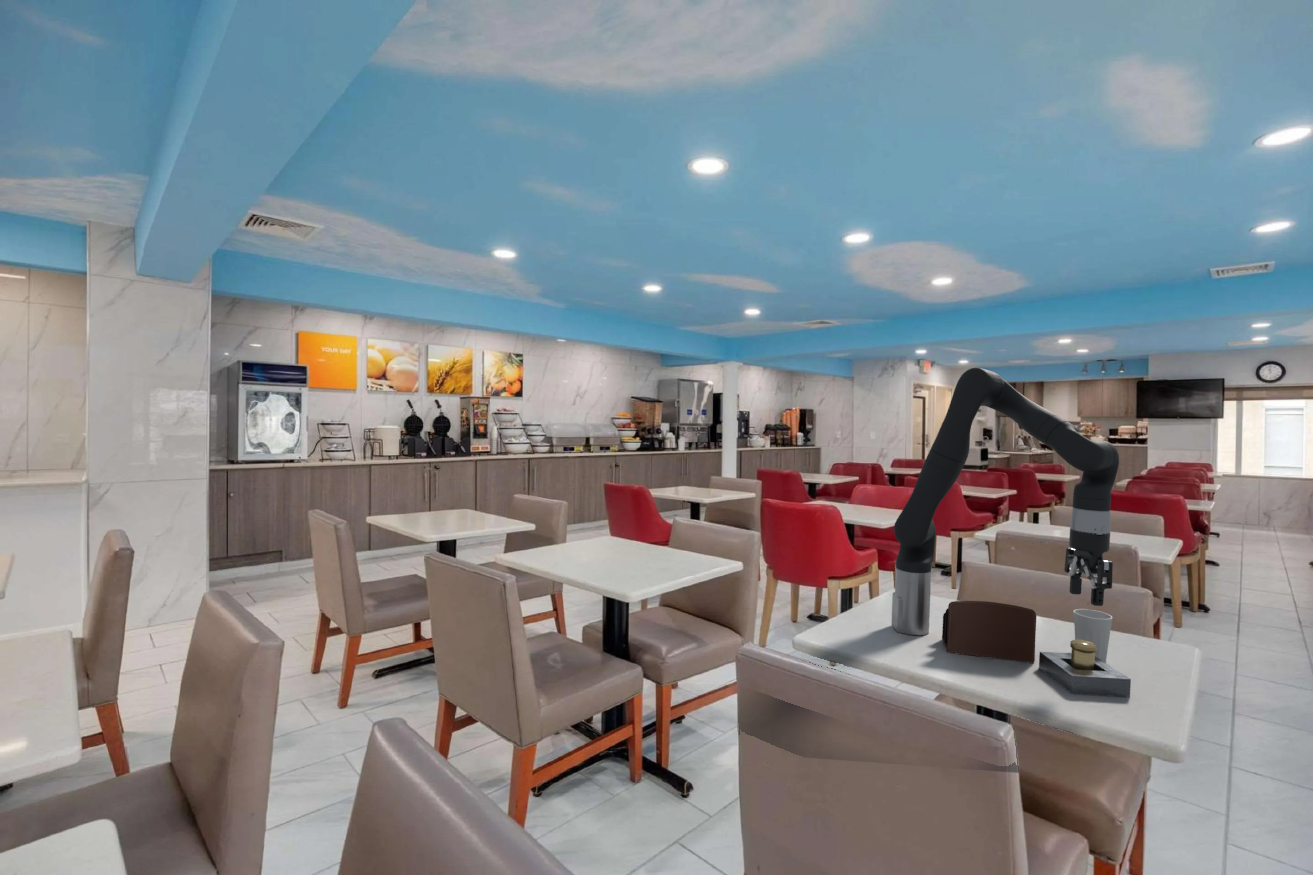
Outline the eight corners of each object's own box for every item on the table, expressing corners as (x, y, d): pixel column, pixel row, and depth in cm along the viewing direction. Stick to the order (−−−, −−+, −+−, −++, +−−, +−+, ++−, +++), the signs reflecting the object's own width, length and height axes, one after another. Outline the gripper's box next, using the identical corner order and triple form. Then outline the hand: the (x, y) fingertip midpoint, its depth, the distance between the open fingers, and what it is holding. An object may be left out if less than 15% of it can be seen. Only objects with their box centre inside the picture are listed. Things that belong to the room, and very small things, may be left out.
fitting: (1076, 685, 142) (1078, 646, 142) (1064, 676, 147) (1065, 638, 147) (1099, 686, 141) (1101, 647, 141) (1086, 677, 146) (1088, 639, 146)
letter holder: (1035, 664, 154) (1037, 607, 154) (946, 653, 160) (948, 598, 160) (1024, 649, 164) (1027, 596, 163) (941, 640, 170) (943, 588, 169)
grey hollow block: (1071, 693, 138) (1072, 675, 138) (1038, 667, 152) (1039, 651, 151) (1129, 697, 137) (1130, 678, 136) (1091, 670, 150) (1092, 654, 150)
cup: (1098, 670, 151) (1101, 621, 150) (1064, 658, 158) (1066, 611, 157) (1117, 664, 154) (1119, 616, 154) (1082, 653, 162) (1084, 607, 161)
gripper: (1055, 522, 150) (1051, 589, 151) (1090, 534, 136) (1086, 608, 136) (1089, 523, 149) (1085, 591, 150) (1127, 535, 135) (1123, 610, 136)
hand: (1085, 599), depth 143 cm, fingers open, 8 cm apart
